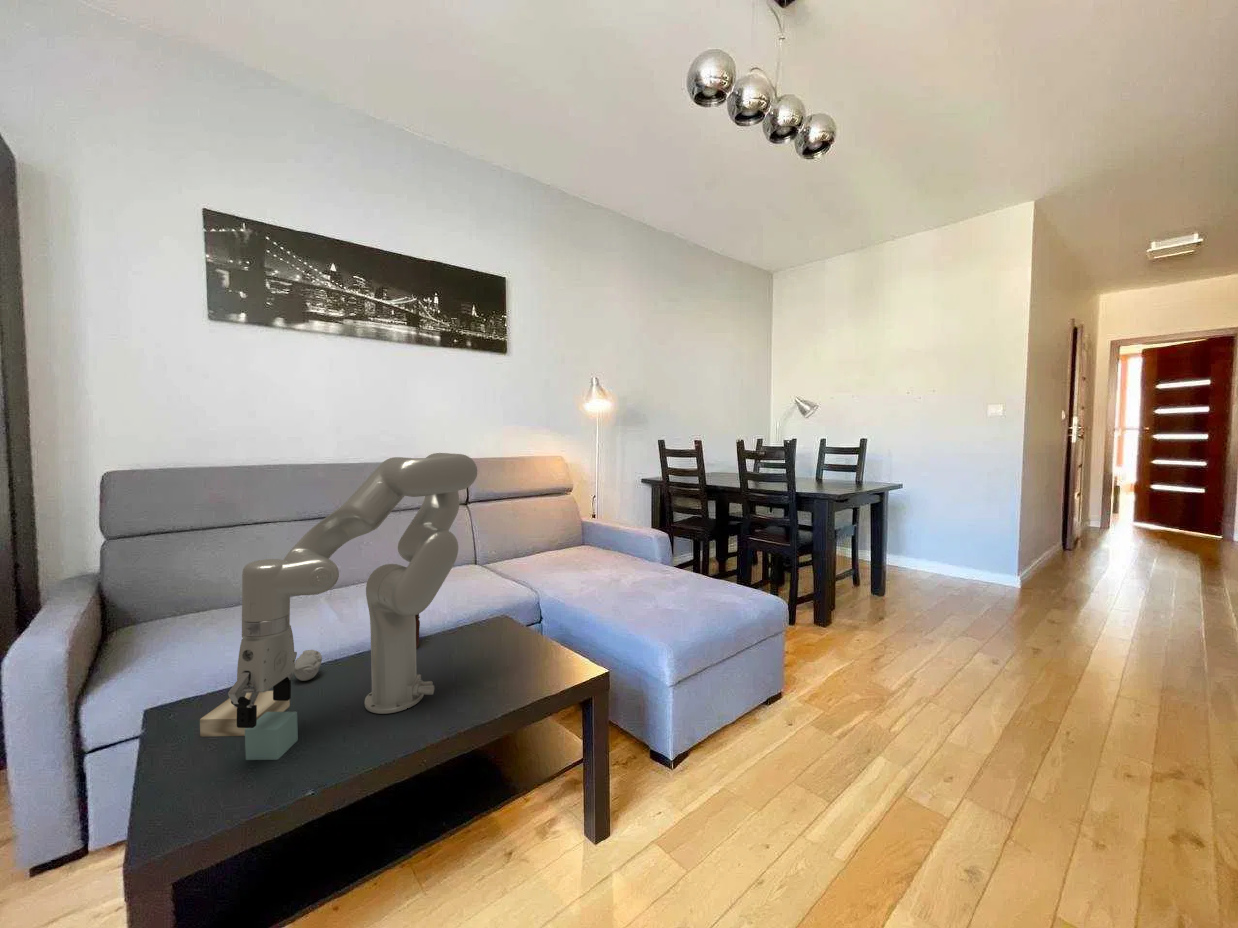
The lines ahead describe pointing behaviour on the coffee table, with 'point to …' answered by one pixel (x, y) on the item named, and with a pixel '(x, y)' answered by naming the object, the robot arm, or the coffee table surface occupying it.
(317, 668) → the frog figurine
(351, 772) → the coffee table surface
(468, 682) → the coffee table surface
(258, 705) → the birch block
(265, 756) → the teal cube
